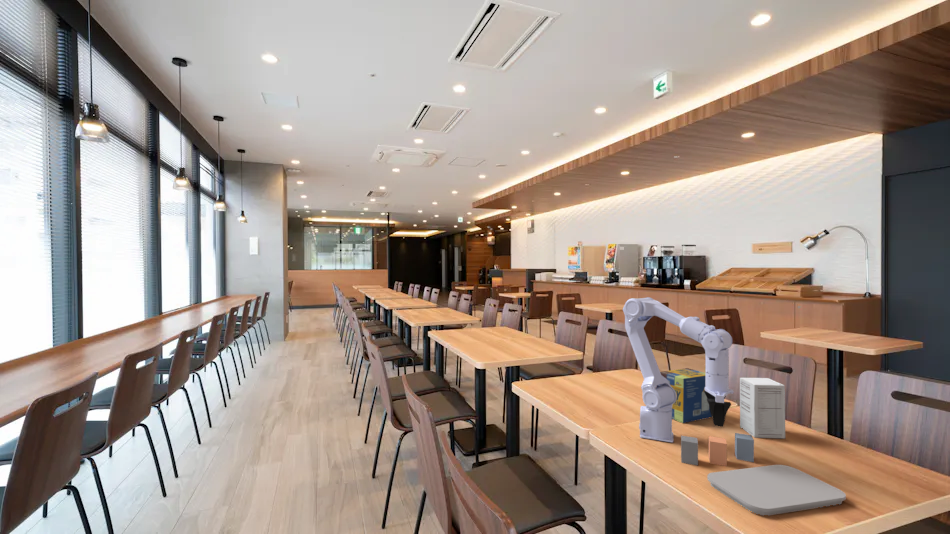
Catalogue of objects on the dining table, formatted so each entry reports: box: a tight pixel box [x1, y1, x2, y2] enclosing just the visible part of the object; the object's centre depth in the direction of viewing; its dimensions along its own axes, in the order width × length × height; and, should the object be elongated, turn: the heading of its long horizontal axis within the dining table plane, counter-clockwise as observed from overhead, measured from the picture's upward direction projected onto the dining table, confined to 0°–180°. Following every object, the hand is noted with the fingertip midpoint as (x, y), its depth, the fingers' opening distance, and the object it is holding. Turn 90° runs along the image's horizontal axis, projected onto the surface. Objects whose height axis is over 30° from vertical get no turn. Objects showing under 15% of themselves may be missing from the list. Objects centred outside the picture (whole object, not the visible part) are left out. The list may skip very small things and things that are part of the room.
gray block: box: [680, 435, 699, 466], centre depth 116 cm, size 4×4×6 cm
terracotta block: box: [708, 435, 728, 467], centre depth 116 cm, size 4×4×6 cm
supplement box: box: [739, 377, 786, 439], centre depth 137 cm, size 10×9×17 cm
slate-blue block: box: [734, 432, 755, 463], centre depth 119 cm, size 4×4×6 cm
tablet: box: [707, 464, 847, 516], centre depth 100 cm, size 16×26×2 cm, turn 103°
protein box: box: [660, 367, 712, 424], centre depth 153 cm, size 10×15×16 cm
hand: (716, 421), depth 119 cm, fingers open, 7 cm apart
